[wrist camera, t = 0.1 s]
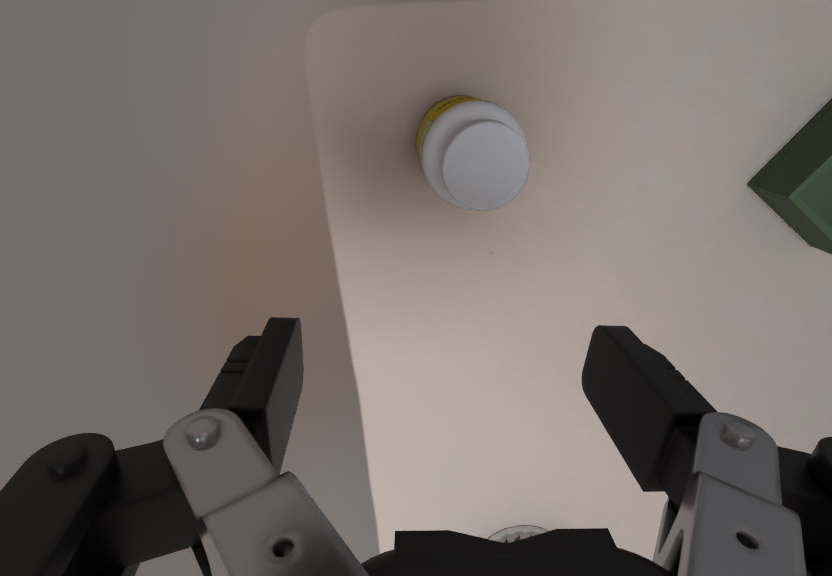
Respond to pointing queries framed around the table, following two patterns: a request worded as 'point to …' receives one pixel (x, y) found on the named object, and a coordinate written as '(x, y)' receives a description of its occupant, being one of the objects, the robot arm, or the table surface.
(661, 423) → the robot arm
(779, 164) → the basket
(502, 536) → the decorative candle
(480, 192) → the supplement bottle
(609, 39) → the table surface
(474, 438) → the table surface
